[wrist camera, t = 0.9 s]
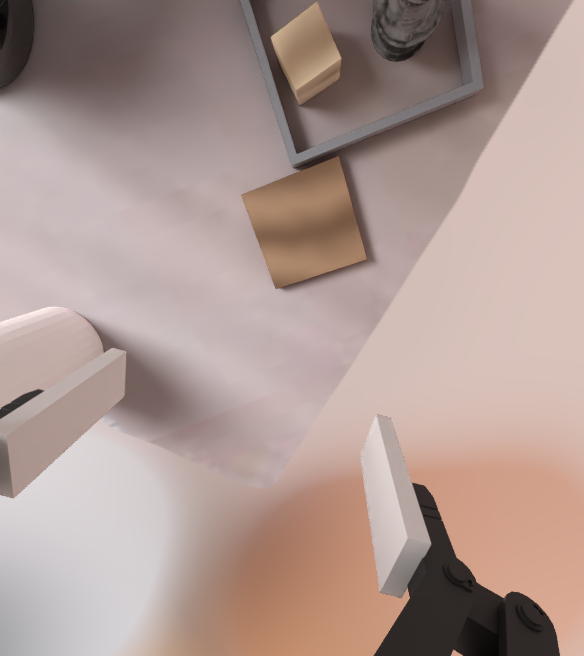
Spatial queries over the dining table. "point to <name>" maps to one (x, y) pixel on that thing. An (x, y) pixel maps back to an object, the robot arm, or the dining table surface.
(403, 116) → the tray
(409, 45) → the dark grey chess piece
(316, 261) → the light brown wooden board
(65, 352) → the bottle
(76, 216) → the dining table surface
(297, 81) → the beech block
